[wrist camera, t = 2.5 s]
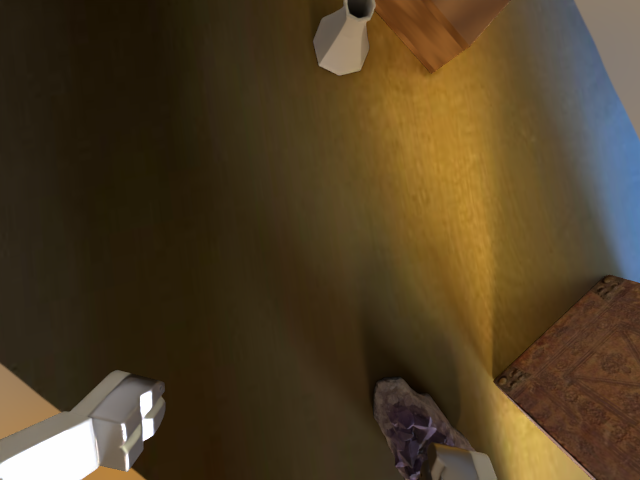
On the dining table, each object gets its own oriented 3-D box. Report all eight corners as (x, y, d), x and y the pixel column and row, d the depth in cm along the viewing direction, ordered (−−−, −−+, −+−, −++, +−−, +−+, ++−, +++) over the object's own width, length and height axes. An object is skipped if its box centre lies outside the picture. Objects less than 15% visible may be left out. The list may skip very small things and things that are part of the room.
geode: (342, 407, 50) (364, 452, 40) (397, 356, 52) (430, 387, 42) (417, 490, 54) (454, 550, 44) (467, 440, 55) (513, 488, 45)
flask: (314, 10, 40) (325, -45, 30) (371, 18, 41) (400, -33, 31) (310, 73, 41) (320, 39, 32) (366, 79, 42) (391, 48, 32)
